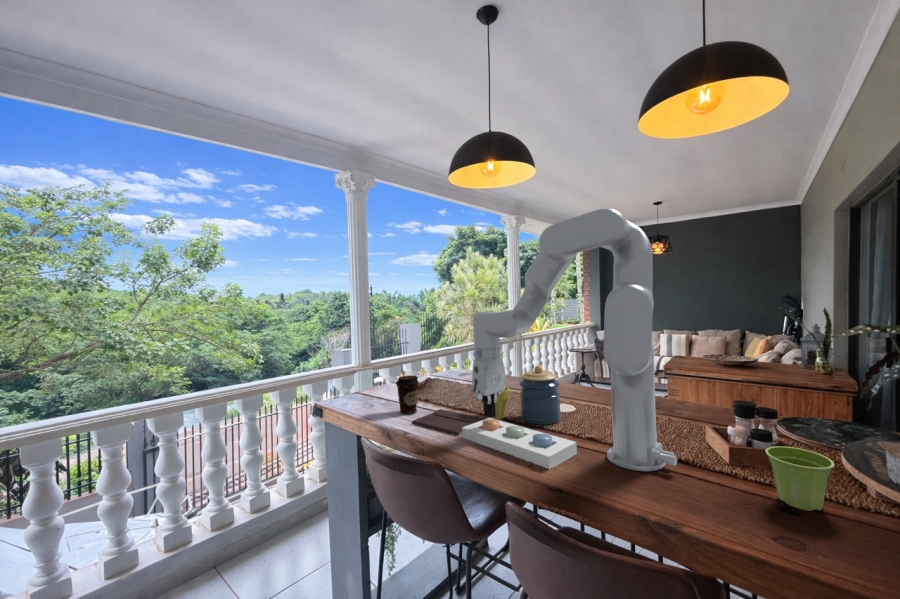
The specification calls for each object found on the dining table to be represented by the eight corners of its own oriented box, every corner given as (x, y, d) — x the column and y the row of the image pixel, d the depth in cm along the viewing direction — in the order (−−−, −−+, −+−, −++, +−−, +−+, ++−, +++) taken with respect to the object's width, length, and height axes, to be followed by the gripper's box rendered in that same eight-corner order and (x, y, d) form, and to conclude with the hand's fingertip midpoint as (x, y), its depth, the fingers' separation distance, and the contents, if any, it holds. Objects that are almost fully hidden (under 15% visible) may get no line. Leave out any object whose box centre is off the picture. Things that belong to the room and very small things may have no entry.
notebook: (457, 437, 112) (457, 431, 112) (411, 425, 124) (411, 419, 124) (486, 423, 123) (486, 417, 123) (441, 414, 136) (441, 408, 136)
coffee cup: (425, 410, 139) (423, 375, 139) (411, 417, 132) (409, 380, 132) (406, 408, 143) (405, 374, 143) (392, 414, 136) (390, 378, 136)
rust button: (502, 431, 109) (502, 421, 109) (491, 436, 106) (491, 425, 106) (490, 428, 113) (490, 418, 113) (479, 432, 110) (478, 422, 110)
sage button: (527, 439, 102) (527, 428, 102) (516, 444, 99) (516, 433, 99) (514, 435, 106) (513, 424, 106) (502, 440, 103) (502, 429, 103)
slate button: (556, 448, 96) (555, 436, 96) (545, 454, 93) (544, 442, 93) (540, 443, 99) (540, 432, 99) (529, 448, 96) (529, 437, 96)
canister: (513, 417, 127) (510, 365, 127) (543, 410, 132) (541, 360, 132) (537, 428, 115) (534, 371, 115) (569, 420, 121) (567, 366, 121)
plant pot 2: (833, 500, 70) (831, 453, 70) (839, 524, 63) (836, 472, 63) (768, 485, 76) (766, 442, 76) (766, 505, 69) (764, 458, 69)
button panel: (576, 453, 95) (576, 442, 95) (549, 469, 87) (549, 456, 87) (490, 427, 118) (489, 417, 118) (462, 437, 110) (461, 427, 110)
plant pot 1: (500, 410, 135) (499, 383, 135) (516, 418, 126) (514, 389, 126) (474, 414, 131) (473, 387, 131) (489, 423, 122) (487, 393, 122)
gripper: (478, 358, 102) (481, 425, 102) (513, 351, 112) (516, 413, 112) (459, 356, 107) (462, 419, 107) (495, 349, 117) (497, 408, 117)
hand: (489, 416), depth 110 cm, fingers closed
